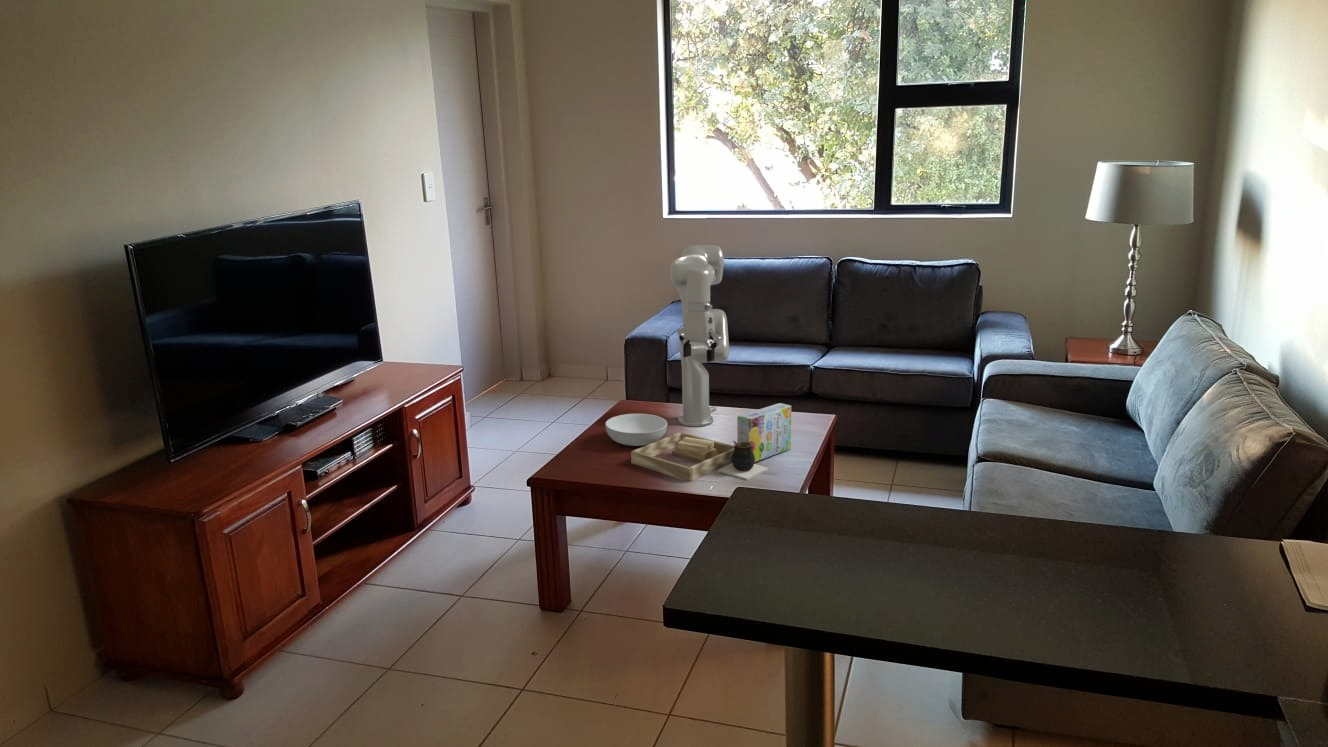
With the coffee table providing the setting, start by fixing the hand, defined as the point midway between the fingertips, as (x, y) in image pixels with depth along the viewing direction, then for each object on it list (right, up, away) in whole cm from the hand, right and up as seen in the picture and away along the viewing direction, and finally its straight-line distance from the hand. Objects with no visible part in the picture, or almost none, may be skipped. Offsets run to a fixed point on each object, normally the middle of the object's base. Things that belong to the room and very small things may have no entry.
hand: (698, 358), depth 292 cm
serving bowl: (-20, -28, +14) cm, 38 cm away
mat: (+13, -35, -13) cm, 39 cm away
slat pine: (-1, -28, -2) cm, 28 cm away
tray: (-4, -33, -5) cm, 33 cm away
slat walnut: (-1, -32, -1) cm, 32 cm away
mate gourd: (+13, -34, -13) cm, 39 cm away
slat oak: (-1, -30, -1) cm, 30 cm away
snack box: (+21, -31, -1) cm, 38 cm away
